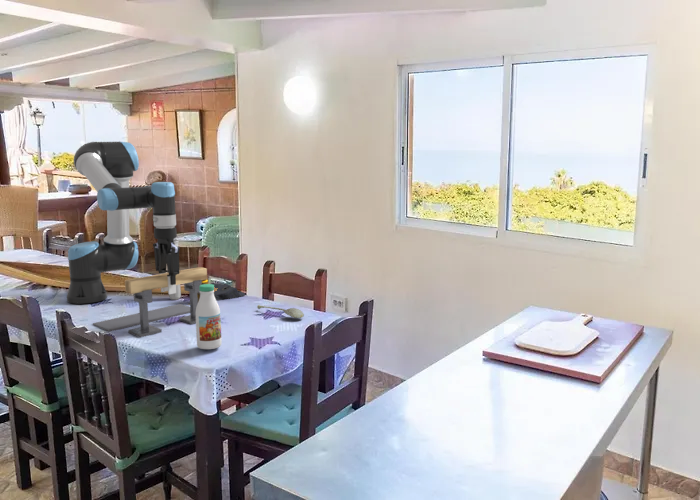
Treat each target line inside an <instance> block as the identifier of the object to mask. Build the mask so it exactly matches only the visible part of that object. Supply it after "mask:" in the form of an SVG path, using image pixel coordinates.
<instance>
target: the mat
mask: <svg viewBox="0 0 700 500" xmlns="http://www.w3.org/2000/svg"><path fill="white" fill-rule="evenodd" d="M187 314H190V305H184V304H182V303H179V304H178V303H177V304H174V305H169V306H164V307H160V308H155V309H152V310H151V309H150V310H148V320H149V323H153V322H157V321H161V320H166V319H170V318H173V317H177V316H178V317H180V316H182V315H187ZM92 325H93V327H97V328H99V329H101V330H104V331H106V332H108V333H111V332H115V331H119V330H120V331H121V330H124V329H128V328H132V327H136V326H140V312H138V313H133V314H128V315H125V316H120V317H115V318H110V319H107V320H101V321H96V322H92Z"/></svg>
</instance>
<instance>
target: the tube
mask: <svg viewBox="0 0 700 500" xmlns="http://www.w3.org/2000/svg"><path fill="white" fill-rule="evenodd" d="M174 243H175V246H176V247H178V246H179V243H180V242H179V240H176V239H174ZM170 254H171V253H170ZM166 270H167V271H168V267H167V269H166ZM179 271H181V270H180V269H179ZM181 289H182V288H181V284H180V285H176V293H174V294H168V297H169V299H170V300H171V301H172V300H173V301H177V300H179V299H180V298H181V296H182V293H181V292H182V291H181Z"/></svg>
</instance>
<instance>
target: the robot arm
mask: <svg viewBox="0 0 700 500" xmlns="http://www.w3.org/2000/svg"><path fill="white" fill-rule="evenodd" d="M73 156H74V157H73V166H74V167H75V169H76V171H77V172H78V173H79V174H80V175H81V176H84V177H85V178H86V179H87V181H88V182H89V183H90V184H91V186H92V187H93V189H94V190H95V191H96V193H97V194H96V201H97V204H98V207H99V209H100V210H101V211H106V216H107V217H106V221H107V222H106V225H107V229H106V230H107V232H106V233H107V235H106V236H104V238H103V243H102V244H100V243H99V242H98V241H96V240H95V241H94V240H93V241H92V240H91V241H84V242H80V243H76V244H73V245H71V246H69V248H68V250H67V261H68V270H69V279H70V281H69V282H70V283H69V286H68V291H67V294H66V302H67V303H68V304H77V305H78V304H91V303H97V302H101V301H103V300H106V299H107V298H108V293H107V290H106V287H105V286H104V283H103V281H102V275H101V274H102V273H108V272H116V271H125V270H129V269H133V268H135V266H136V265H137V263H138V260H139V249H138V247H139V246H138V244H137V242H136V241H134V238H133V237H132V236H131V235H130V210H135V209H137V210H138V209H152V217H153V218H152V220H153V226H154V228H153V237H154V239H156V240H157V242H155V243H154V242H153V243H152V247H153V250H154V251H153V252H154V253H153V254H154V264H155V265H154V267H155V271H156V272H158V274H164V273H169V275H167V279H168V287H164V288H160V292H161V293H165V292H168V293H167V294H168V295H169V294H174V293H176V275H177V274H179V273H180V272H179V270H180V249H181V248H180V246H179V245H178V247H176V246H175V243H174V240H175V239H176V238H177V237H178V236H177V235H178V234H177V227H176V226H177V214H176V196H175V195H176V191H175V185H174V183H173V182H171V181H156V182H153V183H151V185H144V186H136V187H133V186H131V187H130V180H131V179H132V178H133V177H134V172H137V171H138V170H139V167H140V164H139V160H140V159H139V156H138V153H137V150H136V148H135V146H134V145H133V144H132V143H131V142H127V141H91V142H87V143H84V144H83V145H81V146H80V147H79V148H78V149H77V150H76V152H75V153H74V155H73ZM170 253H171V254H170ZM167 267H168V270H167Z"/></svg>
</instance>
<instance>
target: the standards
mask: <svg viewBox="0 0 700 500" xmlns="http://www.w3.org/2000/svg"><path fill="white" fill-rule="evenodd" d="M200 285H202V280H195V281H193V282H190V283H185V284H183V287H184V289H183V290H184V291H185V292H189V303H190V305H189V307H190V313H189V315H185V316H182V317H180V316H179V317H178V320H179V322H183V323H186V324H189V325H194V324H195V325H196V307H197V304H198V298H197V293H199V292H200V290H199V286H200ZM152 292H153V290H151V289H148V290H143V291H142V292H139V293H134V294H133V301H134V302H137V303H138V308H139V309H138V310H139V313H140V325H139V327H135V328H131V329H128V330H127V332H128V334H131V335H133V336H136V337H138V338H144V337H147V336H151V335H155V334H159V333H162V328H159V327H157V326H153V325H150V322H149V320H148V311H149V305H148V304H150V303H153V294H152Z"/></svg>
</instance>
